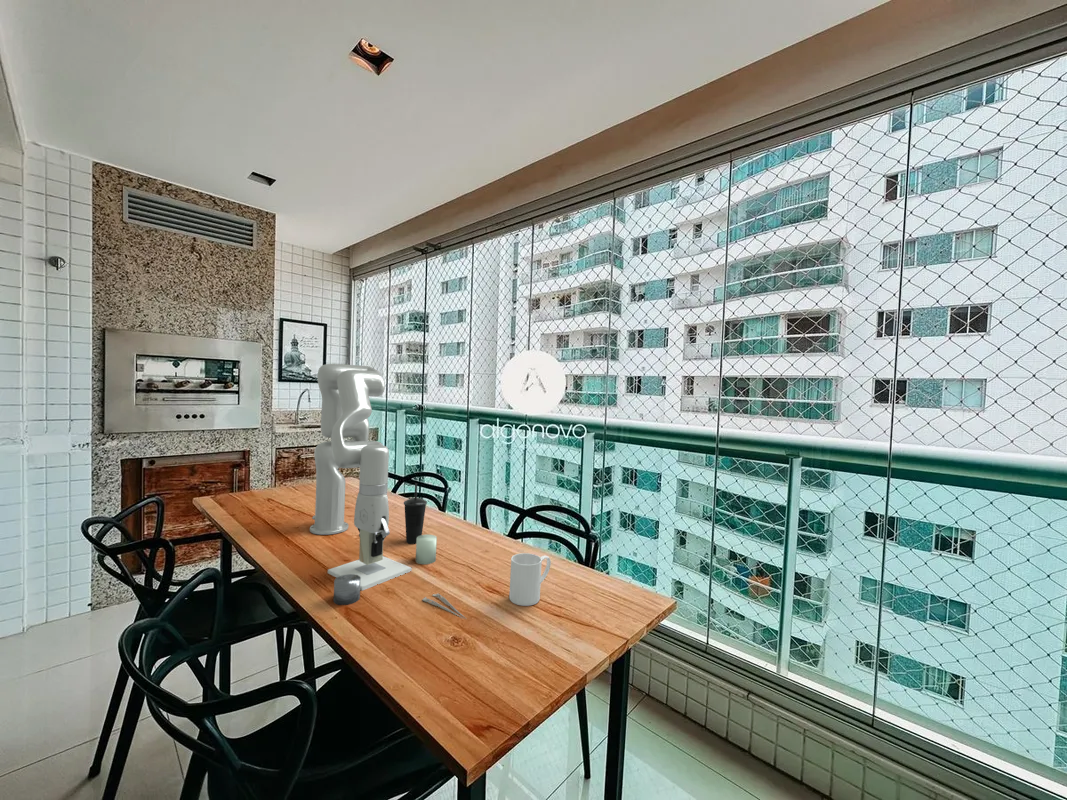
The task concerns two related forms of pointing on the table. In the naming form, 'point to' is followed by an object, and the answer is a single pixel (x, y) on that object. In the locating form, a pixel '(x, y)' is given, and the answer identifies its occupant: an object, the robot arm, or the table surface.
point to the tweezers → (441, 605)
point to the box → (367, 548)
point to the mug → (526, 578)
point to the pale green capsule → (426, 549)
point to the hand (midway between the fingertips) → (371, 552)
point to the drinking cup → (414, 517)
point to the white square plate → (371, 571)
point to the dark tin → (347, 589)
